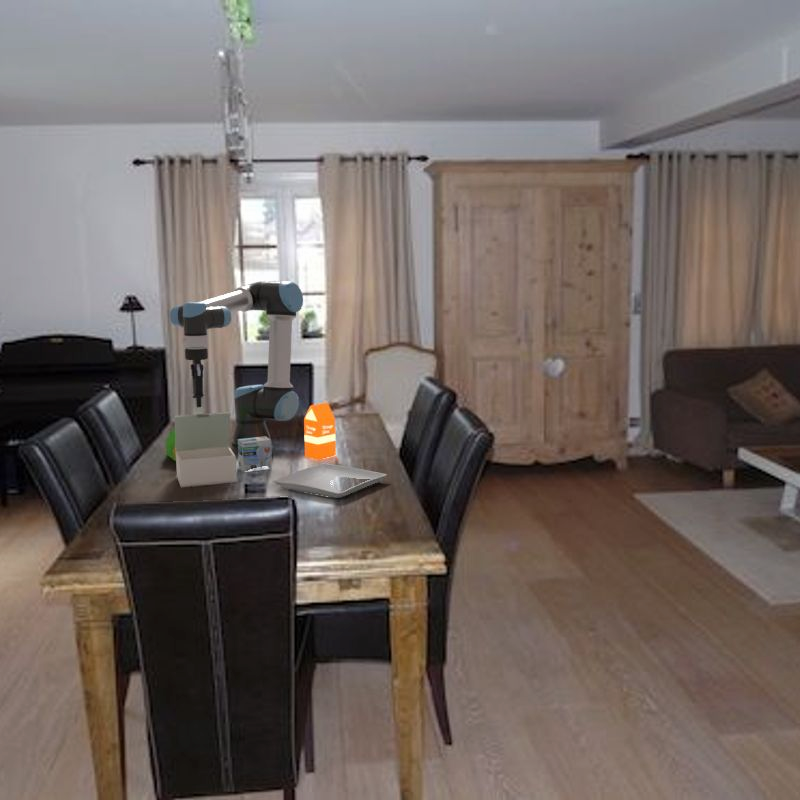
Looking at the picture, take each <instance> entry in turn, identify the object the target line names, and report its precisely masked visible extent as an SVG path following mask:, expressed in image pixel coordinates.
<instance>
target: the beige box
mask: <svg viewBox="0 0 800 800" xmlns="http://www.w3.org/2000/svg"><path fill="white" fill-rule="evenodd" d="M175 463H176V464H175V465H176V478H177V480H178V483H179V486H180V488H182V489H183V488H191V486H192V487H201V486H203V487H204V486H209V485H210V486H212V485H221V484H229V483H230V484H231V483H232V484H233V483H237V458H236V455H235V453H234V451H233V450H232V449H231V447H230V446H225V447H213V448H201V449H196V450H184V451H176V462H175Z"/></svg>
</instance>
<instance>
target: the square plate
mask: <svg viewBox="0 0 800 800" xmlns="http://www.w3.org/2000/svg"><path fill="white" fill-rule="evenodd" d="M336 476H337V477H347V478H348V477H349V478H356V479H370V480H367V481H365V482H362V483H360V484H358V485H356V486H353V487H351V488H349V489H347V490H345V491H343V492H341V493H339V492H338V491H337V490H336V489H335V488H333V487H334V486H333V485H331V484H332V483H331V482H332V481H331V480H333V478H334V479H335V477H336ZM387 476H388V474H387V473H382V472H377V471H374V470H373V471H372V470H368V469H361V468H358V467H357V468H356V467H353V466H345V465H340V464H339V465H337V464H331V463H323V462H322V463H319V464H317V465H312V466H310V467H306V468H304V469H301V470H298V471H295V472H291V473H290V474H287V475H284V476H281V477H279V478H276V479H273V480H272V482H273V483H275V485H277V486H278V487H281V488H283V489H287V490H292V491H294V492H297V491H299V493H303V492H306V493H305V494H308V493H312V494H311V495H314V494H318V495H317V496H319V495H323V496H322V497H324V496H328V497H327V498H330V497H334V499H335V498H336V499H341V498H344V497H346V495H347V496H349V495H351V494H350V493H352V494H354V493H356V492H358V490H359V491H361V490H363V489H362V488H364V489H366V488H368V487H367V486H369V487H371V486H373V485H372V484H374V485H376V484H378V483H379V481H380V482H382V481H383V480H384V479H385V478H386V477H387ZM381 480H382V481H381ZM330 481H331V482H330ZM377 482H378V483H377ZM330 483H331V484H330ZM375 483H376V484H375ZM370 485H371V486H370ZM331 486H332V487H331ZM365 487H366V488H365ZM360 489H361V490H360ZM355 491H356V492H355ZM353 492H354V493H353ZM348 494H349V495H348ZM343 496H344V497H343Z"/></svg>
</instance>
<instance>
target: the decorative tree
mask: <svg viewBox="0 0 800 800" xmlns="http://www.w3.org/2000/svg"><path fill="white" fill-rule="evenodd" d="M165 441H166V444H165V446H166V448H165V449H166V455H167V457H170V458H171V459H172V460H173V461H174V462H175V461H176V450H175V428H174V429H173V430H172V431H171V432H170V433H169V436H168V437H167V438H166V440H165ZM189 450H196V449H189ZM177 451H184V450H177Z"/></svg>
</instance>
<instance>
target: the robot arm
mask: <svg viewBox="0 0 800 800" xmlns="http://www.w3.org/2000/svg"><path fill="white" fill-rule="evenodd" d="M303 296H304V295H303V292H302V290H301V288H300V286H299V285H298V284H297V283H295V282H294V281H288V280H281V281H280V280H271V281H267V280H262V281H256V282H253V283H249V284H246V285H243V286H239V287H237V288H235V289H234V291H232V292H228V293H225V294H221V295H218V296H215V297H212V298H208V299H204V300H201V301H187V302H184V303H183V305H181V304H180V305H175V306H173V307H172V308H171V310H170V313H169V318H170V322H171V324H172V325H173V326H176V327H181V328H183V333H184V335H183V336H184V338H182V342H184V347H185V349H184V358H185V360H187V361H192V363H191V364H190V371H191V377H192V390H193V391H192V399H193V405H194V406H193V407H194V414H204V403H203V402H204V401H203V397H204V395H205V394H204V385H203V382H204V381H203V379H204V378H203V377H204V365H203V364H202V361H203V360H207V359H208V357H209V356H208V355H209V353H208V352H209V351H208V348H207V347H208V345H209V344H208V333H207V332H208V330H209V329H210V330H212V329H222V328H226V327H229V325H230V324H231V322H232V314H235V313H237V312H240V311H241V312H244V313H246V312H249V311H265V313H266V314H265V315H266V317H267V318H268V319H269V333H268V336H269V337H268V342H269V343H268V359H267V360H268V361H267V362H268V363H267V365H268V366H267V381H266V382H265V383H264V384H251V385H245V386H240V387H237V388H236V389H235V391H234V406H235V407H234V410H235V427H234V430H233V434H232V437H231V441H232V442H231V443H232V445H235V446H238V439H246V438H255V437H263V436H266V437H267V438H269V439H270V440H271V435H270V432H269V429H268V426H267V424H266V420H274V421H278V422H279V421H289V420H292V419H293V418H294V417H295V415H296V414H297V412H298V411H299V410H298V409H299V405H300V398H299V395H298V393H296V392H295V391H294V385H293V384H292V383H291V381H290V379H291V359H292V358H291V357H292V356H291V355H292V332H293V331H292V330H293V321H294V320H295V319H296V318H297V312H299V311H301V309H302V307H303V305H304V297H303Z"/></svg>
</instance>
